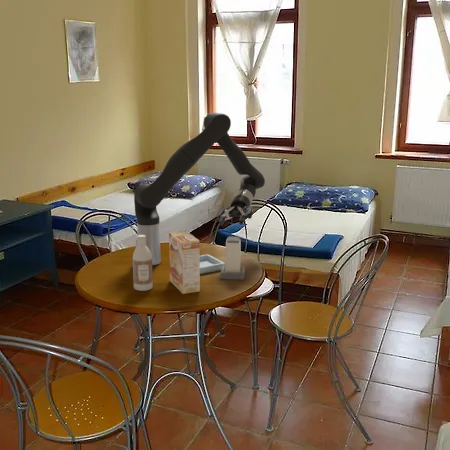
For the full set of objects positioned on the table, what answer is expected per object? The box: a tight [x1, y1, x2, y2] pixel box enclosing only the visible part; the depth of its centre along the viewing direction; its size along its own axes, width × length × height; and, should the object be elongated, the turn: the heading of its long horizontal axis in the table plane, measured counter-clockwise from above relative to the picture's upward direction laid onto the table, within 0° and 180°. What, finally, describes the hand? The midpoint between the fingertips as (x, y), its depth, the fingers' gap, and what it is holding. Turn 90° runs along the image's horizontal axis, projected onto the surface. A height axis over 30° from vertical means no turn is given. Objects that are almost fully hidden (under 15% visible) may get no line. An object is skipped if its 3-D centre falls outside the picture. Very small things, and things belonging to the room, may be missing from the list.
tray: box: [200, 254, 226, 275], centre depth 224 cm, size 14×14×3 cm
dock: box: [220, 265, 246, 281], centre depth 215 cm, size 8×9×2 cm
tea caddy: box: [225, 236, 242, 273], centre depth 214 cm, size 6×6×15 cm
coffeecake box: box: [168, 230, 201, 295], centre depth 201 cm, size 15×7×20 cm, turn 23°
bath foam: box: [132, 235, 154, 292], centre depth 199 cm, size 7×7×20 cm
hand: (230, 223), depth 219 cm, fingers open, 8 cm apart
